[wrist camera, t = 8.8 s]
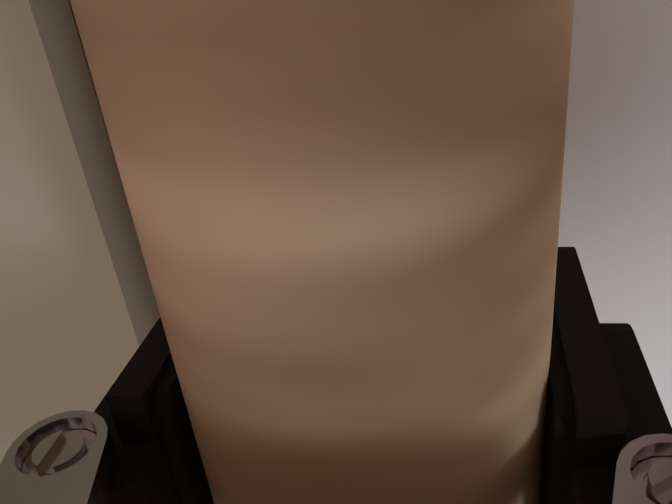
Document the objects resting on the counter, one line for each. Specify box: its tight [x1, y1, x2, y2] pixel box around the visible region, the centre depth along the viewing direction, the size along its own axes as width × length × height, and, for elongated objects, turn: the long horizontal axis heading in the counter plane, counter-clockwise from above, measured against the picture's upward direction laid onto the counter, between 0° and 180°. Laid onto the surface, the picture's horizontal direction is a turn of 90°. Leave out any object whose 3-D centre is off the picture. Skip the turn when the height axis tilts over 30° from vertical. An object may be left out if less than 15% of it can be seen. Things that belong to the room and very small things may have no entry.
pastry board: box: [558, 0, 672, 427], centre depth 16 cm, size 13×30×1 cm, turn 6°
